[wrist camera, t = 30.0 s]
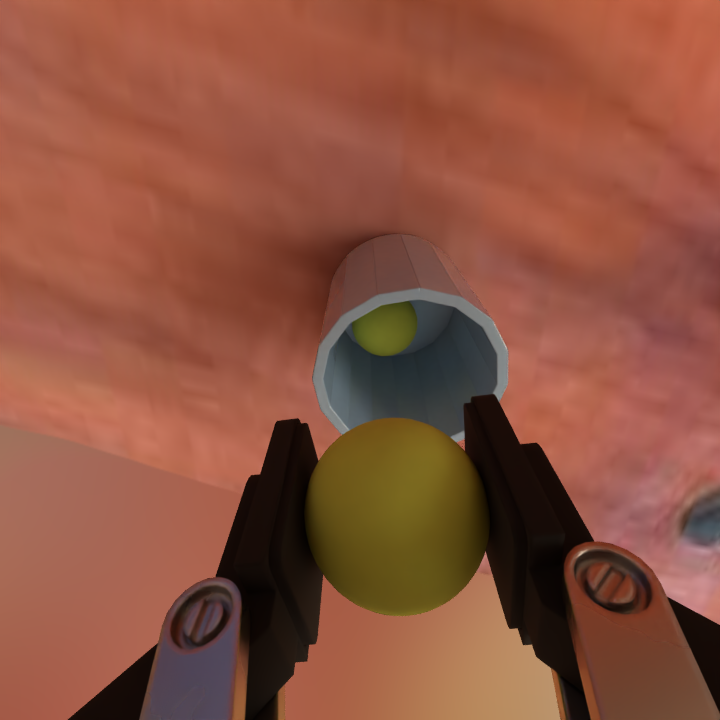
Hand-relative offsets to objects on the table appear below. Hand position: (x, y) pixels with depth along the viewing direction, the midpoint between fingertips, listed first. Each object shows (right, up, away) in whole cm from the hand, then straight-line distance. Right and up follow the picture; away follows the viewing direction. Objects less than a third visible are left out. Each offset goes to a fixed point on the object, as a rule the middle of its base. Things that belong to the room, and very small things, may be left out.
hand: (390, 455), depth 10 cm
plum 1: (+1, +6, +16) cm, 17 cm away
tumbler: (+1, +6, +16) cm, 18 cm away
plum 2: (0, 0, 0) cm, 0 cm away
